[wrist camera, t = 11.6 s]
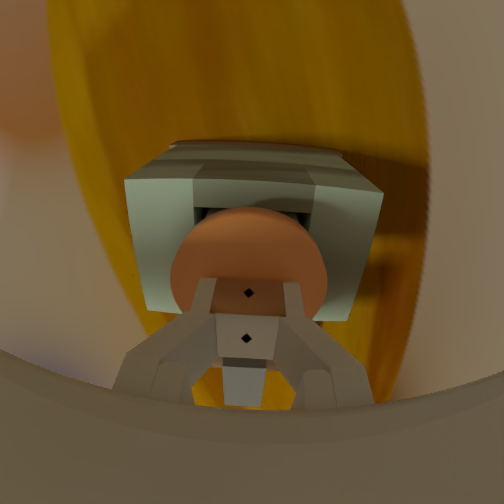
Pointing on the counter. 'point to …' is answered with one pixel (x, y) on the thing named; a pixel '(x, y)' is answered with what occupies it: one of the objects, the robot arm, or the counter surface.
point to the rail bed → (253, 195)
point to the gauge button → (249, 254)
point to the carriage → (243, 381)
